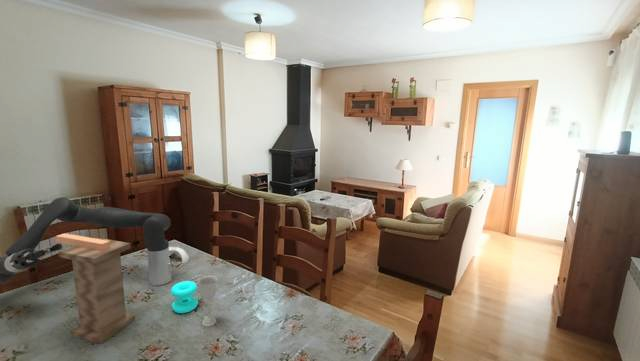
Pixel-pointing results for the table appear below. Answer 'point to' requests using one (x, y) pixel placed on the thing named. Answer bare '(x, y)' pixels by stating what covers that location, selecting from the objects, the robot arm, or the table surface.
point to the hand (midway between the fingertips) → (48, 250)
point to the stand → (99, 291)
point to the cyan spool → (184, 297)
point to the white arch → (180, 251)
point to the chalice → (208, 296)
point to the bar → (83, 241)
